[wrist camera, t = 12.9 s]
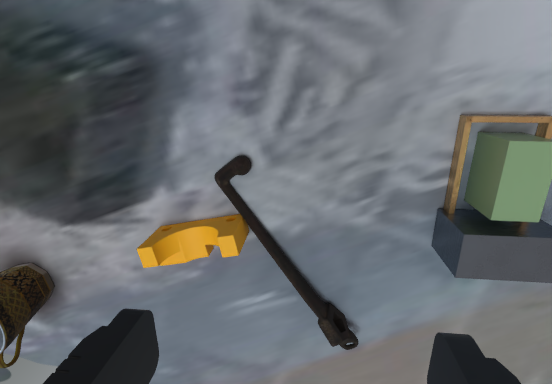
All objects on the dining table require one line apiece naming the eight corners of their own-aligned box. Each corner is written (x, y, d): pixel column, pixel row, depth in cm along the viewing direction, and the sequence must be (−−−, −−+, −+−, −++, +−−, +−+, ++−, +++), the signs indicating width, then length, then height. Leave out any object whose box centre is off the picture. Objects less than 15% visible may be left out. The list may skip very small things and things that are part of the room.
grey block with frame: (454, 115, 34) (487, 122, 28) (553, 115, 33) (612, 122, 27) (431, 245, 40) (455, 277, 33) (517, 249, 38) (559, 283, 32)
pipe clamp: (171, 253, 44) (148, 280, 38) (161, 225, 43) (136, 249, 37) (252, 242, 42) (242, 268, 36) (244, 212, 41) (233, 235, 35)
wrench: (249, 148, 40) (375, 324, 44) (220, 169, 42) (344, 337, 46) (236, 155, 35) (379, 353, 39) (204, 179, 37) (344, 366, 41)
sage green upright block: (477, 131, 35) (510, 140, 29) (521, 132, 34) (562, 142, 29) (463, 199, 37) (490, 220, 32) (504, 201, 37) (538, 222, 31)
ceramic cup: (-8, 258, 48) (-86, 300, 39) (47, 248, 46) (-21, 290, 37) (30, 326, 52) (-32, 380, 42) (83, 319, 50) (29, 374, 41)
